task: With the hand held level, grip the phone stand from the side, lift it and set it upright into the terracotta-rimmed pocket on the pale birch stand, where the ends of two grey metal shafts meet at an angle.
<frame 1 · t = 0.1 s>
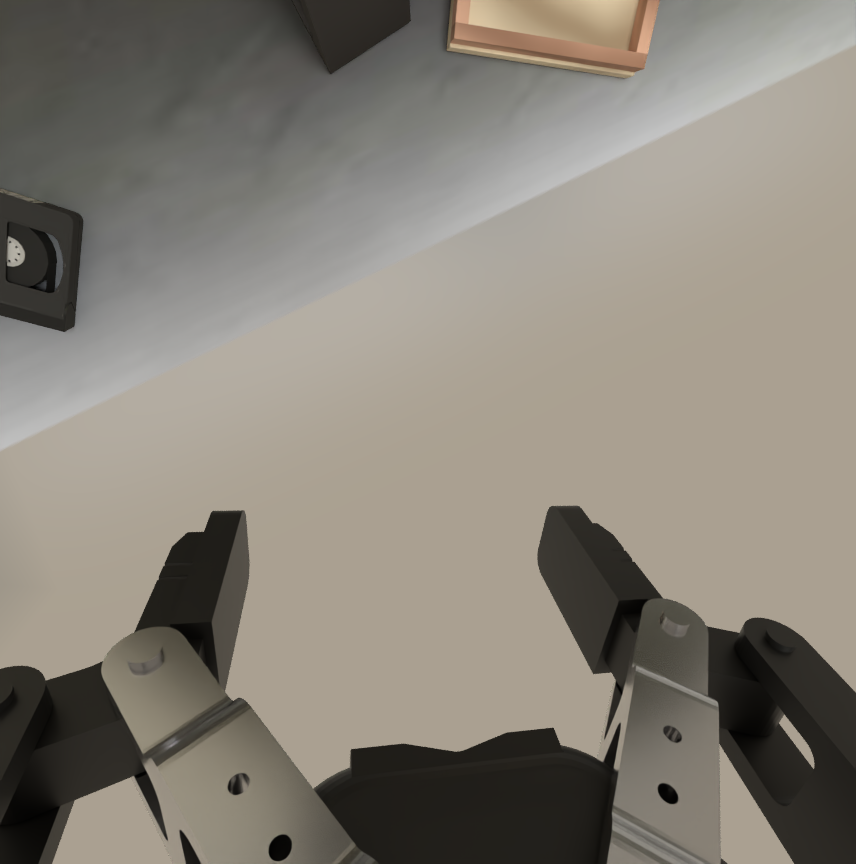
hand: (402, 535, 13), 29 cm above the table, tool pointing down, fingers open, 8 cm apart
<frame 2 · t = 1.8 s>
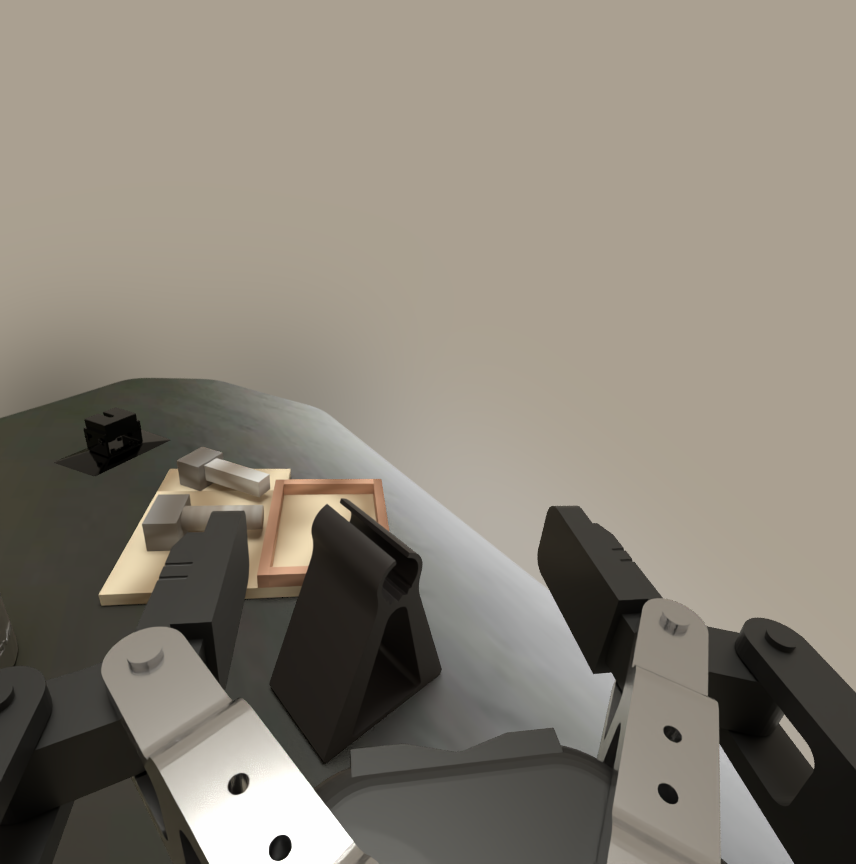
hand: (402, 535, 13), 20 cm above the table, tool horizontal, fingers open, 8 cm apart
phone stand: (358, 682, 32), on the table
black slotted box: (118, 456, 54), on the table
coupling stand: (328, 540, 44), on the table
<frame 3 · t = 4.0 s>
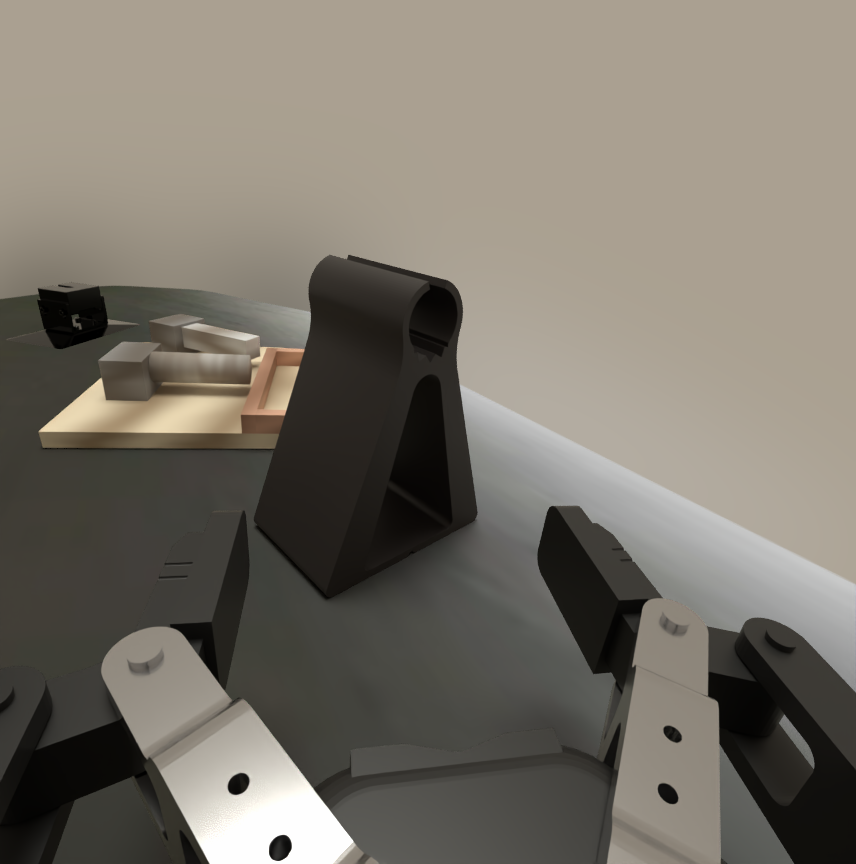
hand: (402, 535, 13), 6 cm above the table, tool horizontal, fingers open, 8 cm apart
phone stand: (370, 526, 24), on the table
black slotted box: (80, 339, 47), on the table
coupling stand: (329, 406, 36), on the table
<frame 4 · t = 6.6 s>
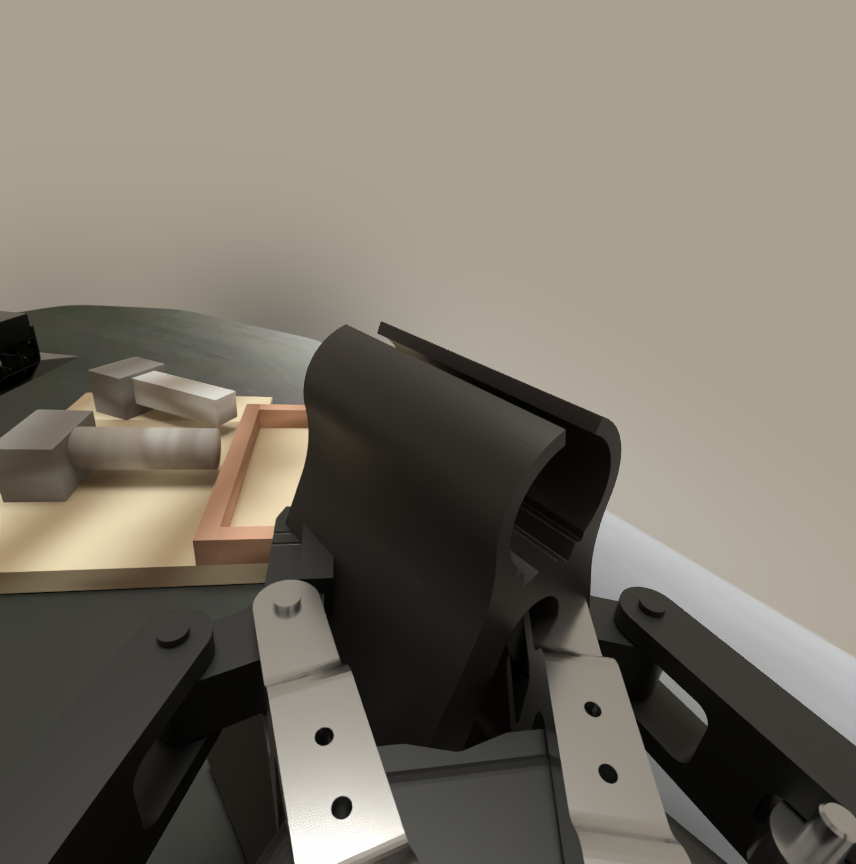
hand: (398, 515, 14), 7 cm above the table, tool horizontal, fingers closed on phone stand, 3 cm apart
phone stand: (402, 763, 15), on the table, touching gripper
black slotted box: (5, 381, 37), on the table
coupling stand: (329, 493, 26), on the table
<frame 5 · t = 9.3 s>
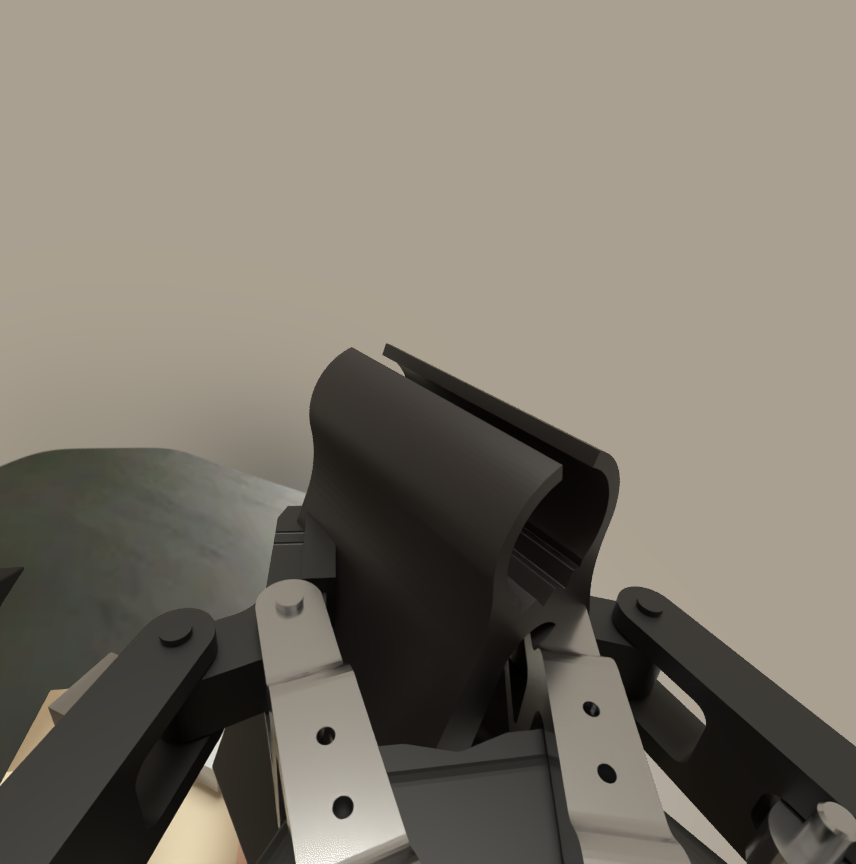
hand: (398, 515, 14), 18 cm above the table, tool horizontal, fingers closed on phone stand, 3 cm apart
phone stand: (403, 776, 15), point 11 cm above the table, touching gripper
when the fingers open (9 cm above the table, at t = 11.7 s): phone stand stays where it is, resting on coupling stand.
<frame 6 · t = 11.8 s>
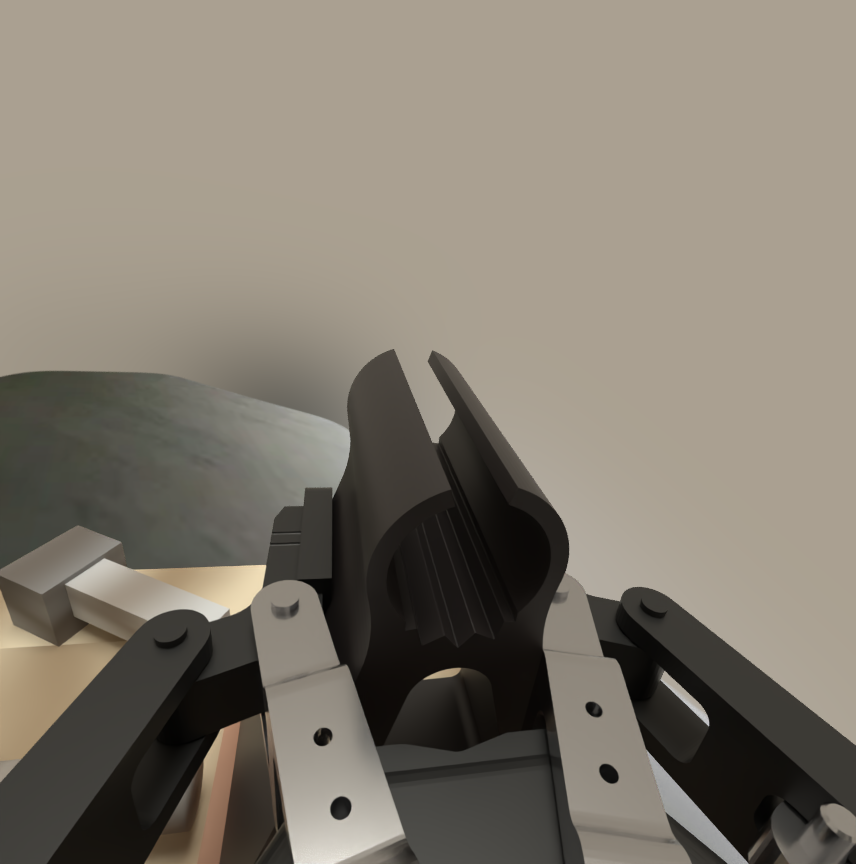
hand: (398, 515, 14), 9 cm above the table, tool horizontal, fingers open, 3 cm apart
phone stand: (394, 788, 15), point 2 cm above the table, touching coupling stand
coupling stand: (387, 812, 16), on the table
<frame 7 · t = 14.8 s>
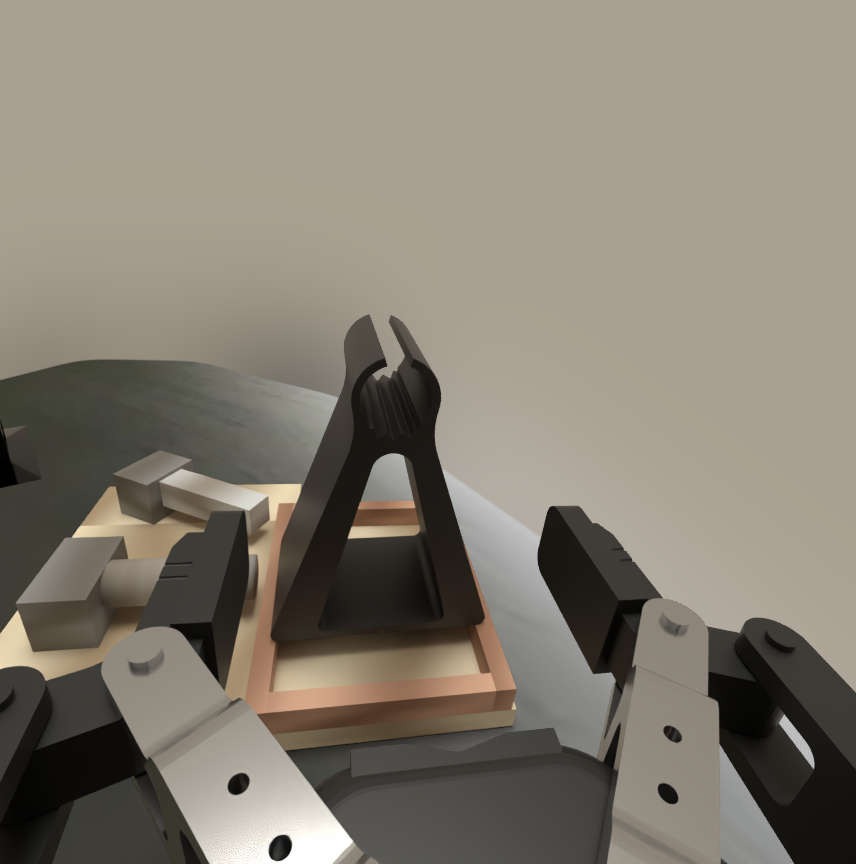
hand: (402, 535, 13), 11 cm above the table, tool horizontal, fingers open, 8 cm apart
phone stand: (375, 586, 24), point 2 cm above the table, touching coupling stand
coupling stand: (372, 611, 25), on the table
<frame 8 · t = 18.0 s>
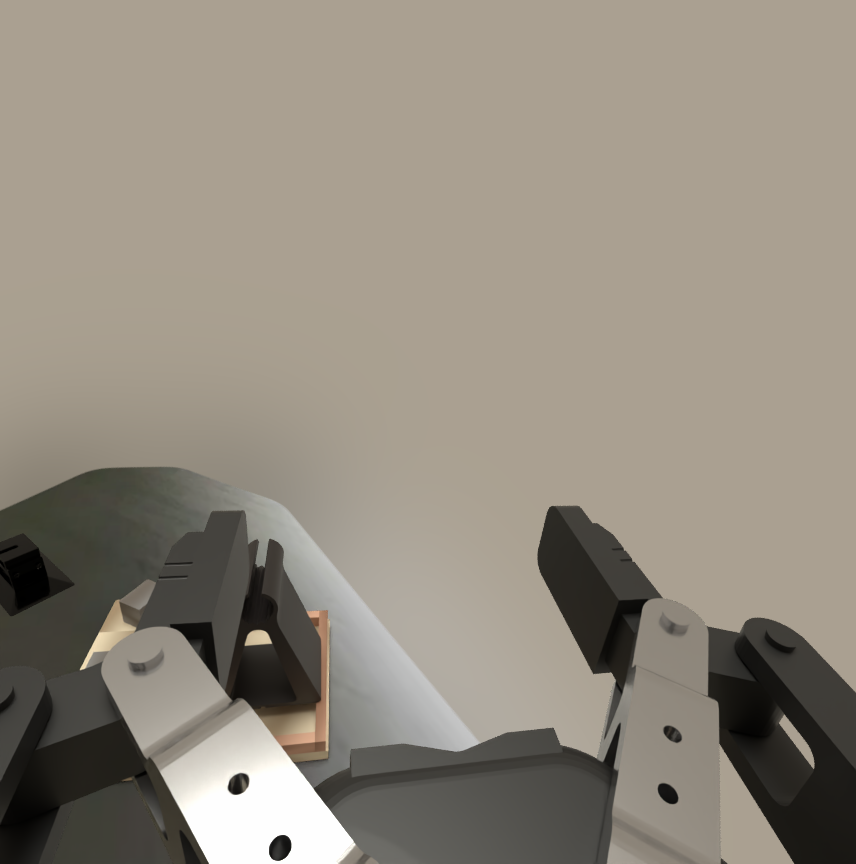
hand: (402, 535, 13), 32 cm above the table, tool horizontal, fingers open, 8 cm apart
phone stand: (266, 677, 42), point 2 cm above the table, touching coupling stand
black slotted box: (25, 583, 53), on the table
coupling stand: (267, 689, 44), on the table
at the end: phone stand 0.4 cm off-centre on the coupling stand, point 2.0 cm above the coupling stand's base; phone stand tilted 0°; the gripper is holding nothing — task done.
